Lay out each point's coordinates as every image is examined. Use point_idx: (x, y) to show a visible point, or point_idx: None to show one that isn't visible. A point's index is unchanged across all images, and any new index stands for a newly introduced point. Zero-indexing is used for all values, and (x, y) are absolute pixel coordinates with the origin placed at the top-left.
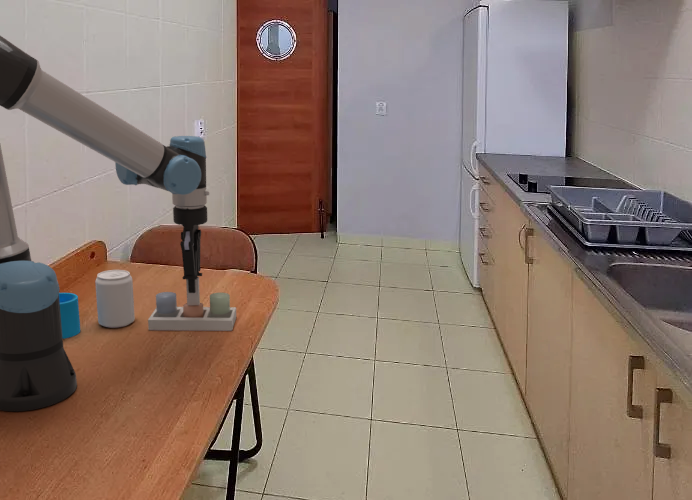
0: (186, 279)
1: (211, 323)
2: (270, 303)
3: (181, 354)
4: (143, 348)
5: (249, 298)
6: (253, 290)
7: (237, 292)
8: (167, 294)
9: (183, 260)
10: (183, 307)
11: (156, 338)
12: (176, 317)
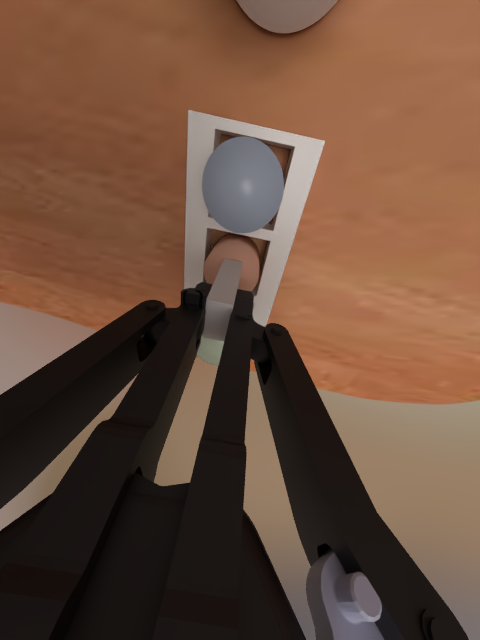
0: (206, 299)
1: None
2: None
3: (59, 223)
4: (62, 111)
5: (358, 366)
6: (403, 377)
7: (410, 353)
8: (249, 196)
9: (46, 368)
10: (224, 245)
11: (137, 152)
12: (207, 217)
